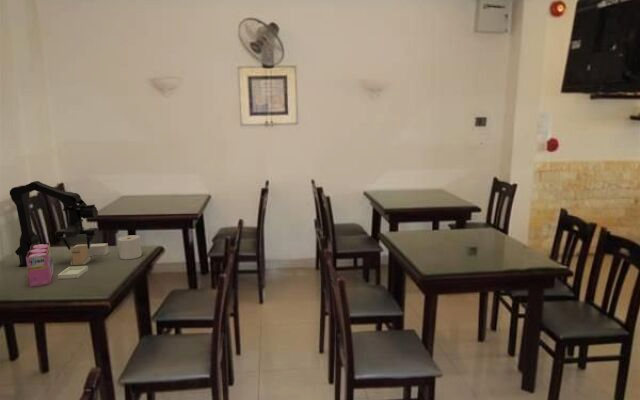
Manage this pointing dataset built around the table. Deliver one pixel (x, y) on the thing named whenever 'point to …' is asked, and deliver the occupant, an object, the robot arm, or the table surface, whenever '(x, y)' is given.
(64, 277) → the tray
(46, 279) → the gum box
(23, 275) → the table surface
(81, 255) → the tan cuboid block
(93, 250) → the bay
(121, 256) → the toilet tissue
